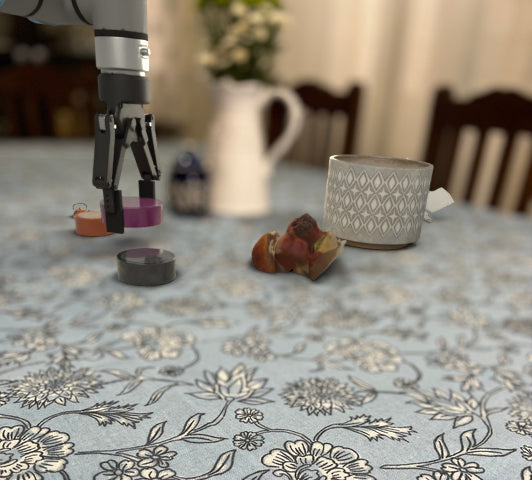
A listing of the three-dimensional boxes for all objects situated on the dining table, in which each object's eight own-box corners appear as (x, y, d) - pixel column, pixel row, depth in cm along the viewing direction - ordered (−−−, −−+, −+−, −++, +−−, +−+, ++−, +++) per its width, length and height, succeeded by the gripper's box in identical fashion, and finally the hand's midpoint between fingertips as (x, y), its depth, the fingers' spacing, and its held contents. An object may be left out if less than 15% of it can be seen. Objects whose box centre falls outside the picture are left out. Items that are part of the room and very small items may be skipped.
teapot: (77, 214, 104) (76, 201, 103) (91, 216, 104) (90, 202, 103) (70, 217, 102) (68, 203, 101) (84, 219, 101) (82, 205, 100)
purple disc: (88, 223, 82) (86, 203, 81) (121, 211, 91) (120, 194, 90) (145, 230, 80) (144, 210, 79) (173, 218, 89) (173, 200, 87)
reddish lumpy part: (344, 254, 73) (294, 203, 71) (283, 312, 78) (235, 266, 76) (348, 230, 87) (306, 186, 85) (296, 280, 92) (255, 240, 90)
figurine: (402, 253, 121) (436, 225, 127) (427, 223, 110) (463, 194, 116) (357, 209, 123) (393, 184, 129) (378, 176, 113) (415, 150, 118)
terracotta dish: (68, 233, 91) (66, 216, 90) (89, 226, 97) (88, 209, 95) (100, 238, 90) (99, 220, 88) (120, 230, 95) (119, 213, 94)
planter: (395, 228, 110) (407, 157, 104) (435, 253, 94) (452, 169, 88) (311, 227, 107) (318, 152, 100) (337, 252, 91) (348, 165, 84)
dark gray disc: (106, 280, 70) (104, 258, 69) (135, 265, 77) (134, 244, 76) (159, 289, 69) (159, 267, 67) (185, 272, 76) (184, 252, 74)
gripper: (103, 70, 65) (116, 244, 75) (180, 78, 85) (182, 215, 95) (52, 67, 67) (71, 237, 77) (138, 76, 87) (145, 211, 97)
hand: (132, 225), depth 86 cm, fingers closed on purple disc, 10 cm apart
